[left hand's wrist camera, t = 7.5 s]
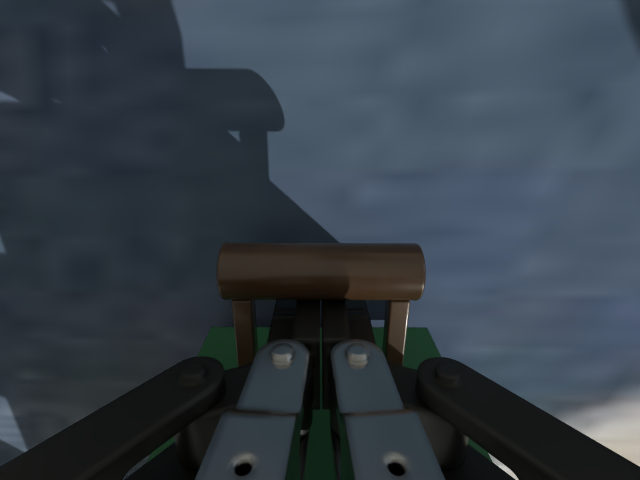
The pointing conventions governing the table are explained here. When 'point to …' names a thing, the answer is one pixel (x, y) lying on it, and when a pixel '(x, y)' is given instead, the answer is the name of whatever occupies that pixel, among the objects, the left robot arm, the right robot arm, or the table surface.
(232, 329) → the drawer
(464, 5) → the table surface
